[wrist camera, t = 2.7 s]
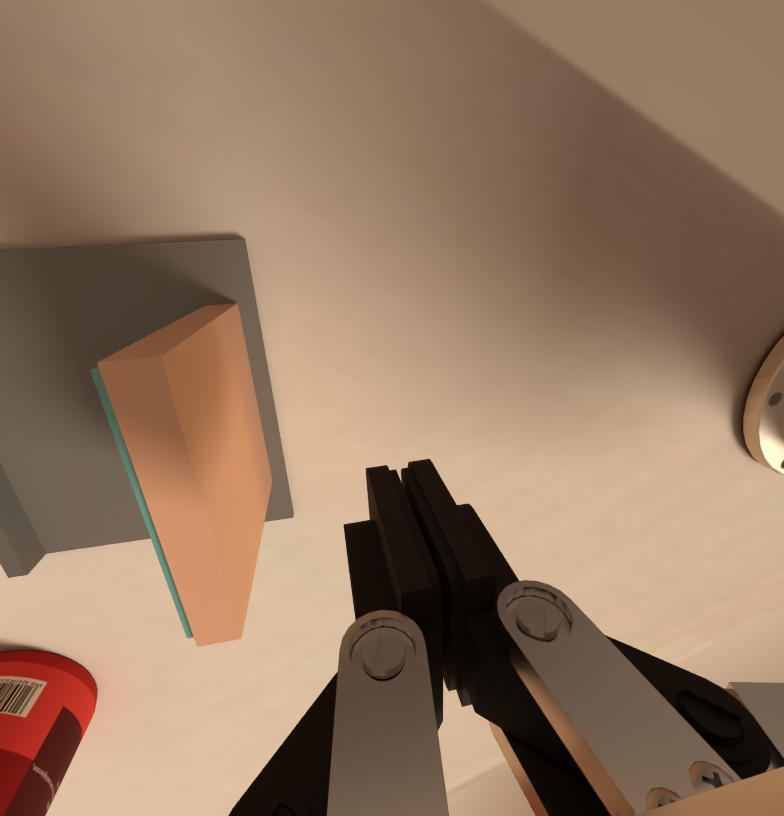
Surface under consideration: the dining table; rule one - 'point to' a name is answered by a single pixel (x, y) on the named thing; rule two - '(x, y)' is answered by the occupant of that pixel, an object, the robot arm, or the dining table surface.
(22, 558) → the mat
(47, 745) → the canned food
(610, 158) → the dining table surface
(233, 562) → the tile
